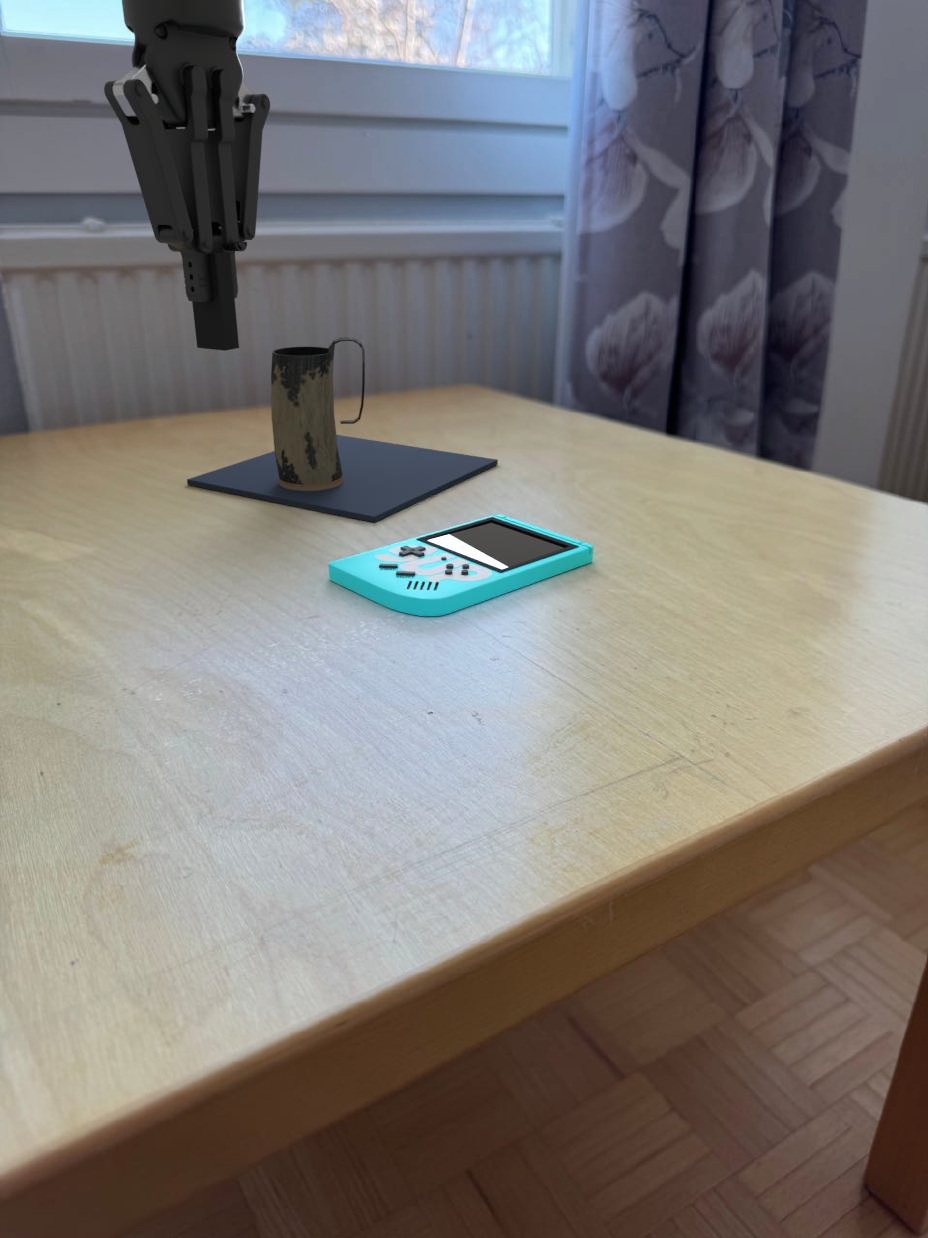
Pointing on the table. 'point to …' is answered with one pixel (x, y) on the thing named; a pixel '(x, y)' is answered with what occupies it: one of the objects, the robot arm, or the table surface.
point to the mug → (307, 417)
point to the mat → (355, 478)
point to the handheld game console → (459, 565)
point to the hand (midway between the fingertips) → (218, 347)
